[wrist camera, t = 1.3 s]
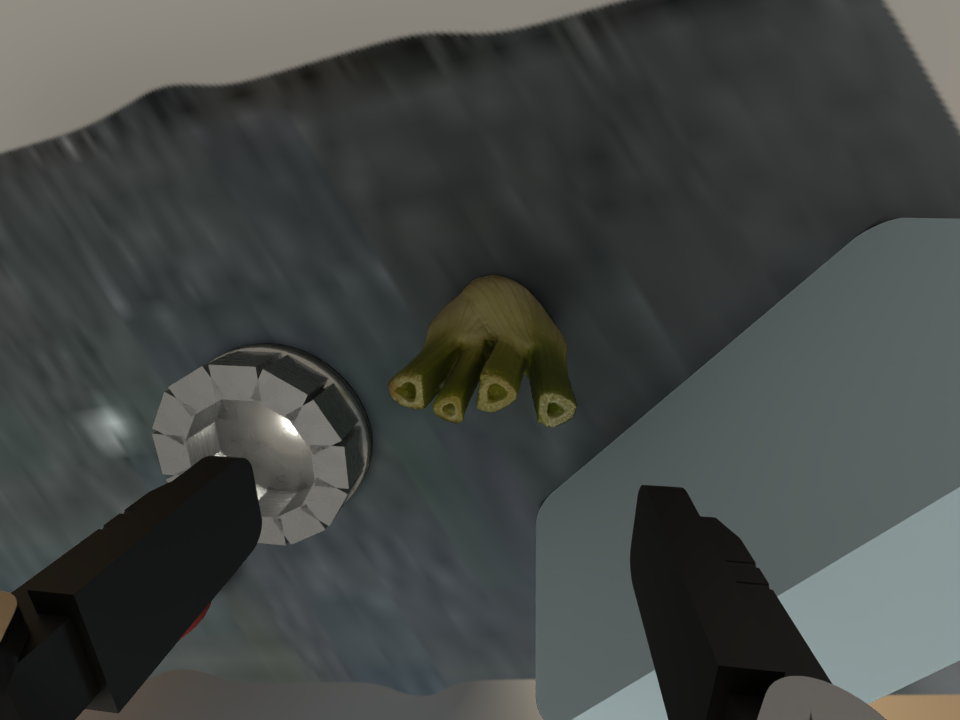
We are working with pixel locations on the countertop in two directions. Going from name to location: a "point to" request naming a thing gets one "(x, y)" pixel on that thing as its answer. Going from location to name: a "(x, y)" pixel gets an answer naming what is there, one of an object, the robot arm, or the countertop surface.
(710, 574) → the robot arm
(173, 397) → the white low ring
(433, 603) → the countertop surface
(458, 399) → the fennel bulb
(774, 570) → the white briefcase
